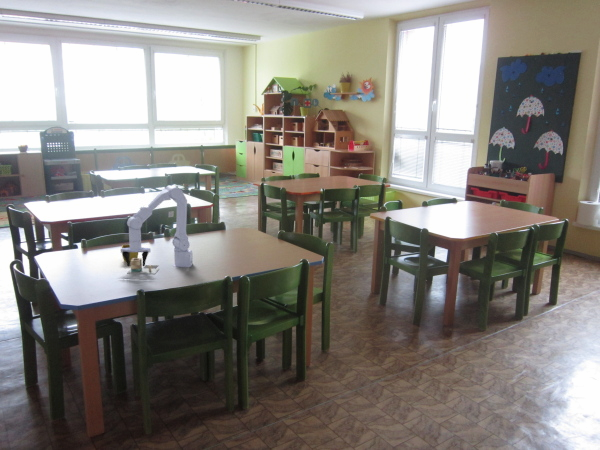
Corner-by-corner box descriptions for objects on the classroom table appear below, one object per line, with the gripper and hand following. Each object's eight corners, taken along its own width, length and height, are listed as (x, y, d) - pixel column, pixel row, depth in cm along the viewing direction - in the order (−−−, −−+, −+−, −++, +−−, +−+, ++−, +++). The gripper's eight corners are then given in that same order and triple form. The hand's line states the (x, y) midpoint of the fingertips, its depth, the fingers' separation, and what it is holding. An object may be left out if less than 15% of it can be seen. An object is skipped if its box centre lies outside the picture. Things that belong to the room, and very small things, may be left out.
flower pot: (121, 264, 264) (121, 248, 262) (123, 260, 272) (122, 244, 270) (138, 263, 266) (138, 248, 264) (139, 259, 274) (138, 244, 272)
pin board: (159, 270, 256) (158, 263, 255) (154, 275, 248) (154, 267, 247) (132, 269, 255) (132, 262, 255) (127, 274, 248) (126, 267, 247)
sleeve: (141, 269, 254) (141, 258, 252) (139, 271, 249) (139, 260, 248) (133, 269, 253) (132, 258, 252) (131, 271, 249) (130, 260, 248)
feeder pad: (158, 266, 262) (158, 265, 262) (155, 269, 257) (155, 268, 256) (146, 266, 262) (145, 265, 262) (142, 269, 256) (142, 268, 256)
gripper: (151, 238, 252) (152, 263, 255) (122, 238, 251) (123, 263, 254) (148, 241, 246) (149, 267, 248) (119, 241, 244) (120, 267, 247)
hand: (136, 265), depth 251 cm, fingers open, 7 cm apart
